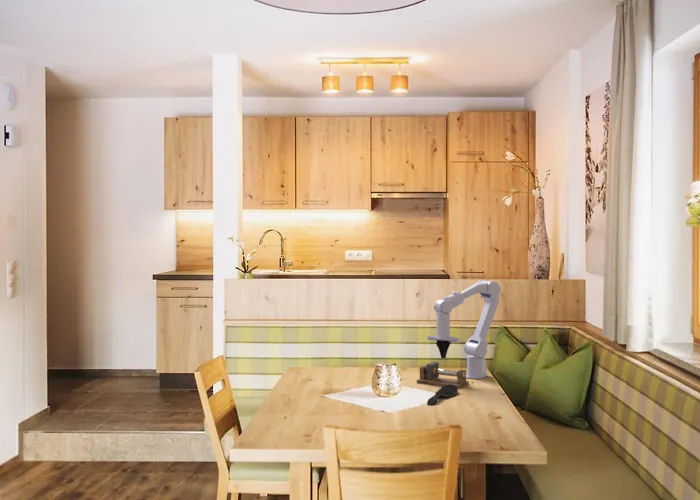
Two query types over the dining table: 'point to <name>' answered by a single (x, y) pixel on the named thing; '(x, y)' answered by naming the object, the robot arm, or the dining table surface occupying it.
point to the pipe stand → (442, 381)
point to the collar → (430, 370)
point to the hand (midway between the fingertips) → (443, 357)
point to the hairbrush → (443, 393)
